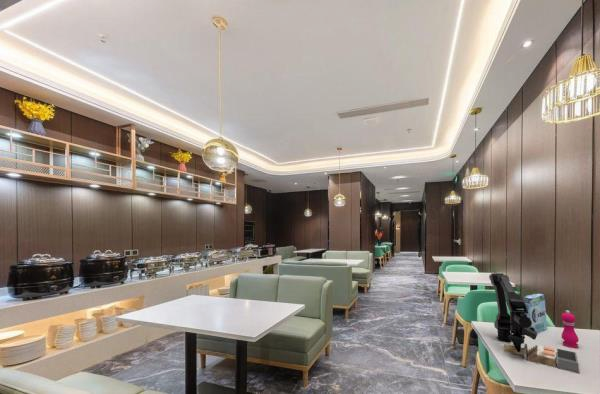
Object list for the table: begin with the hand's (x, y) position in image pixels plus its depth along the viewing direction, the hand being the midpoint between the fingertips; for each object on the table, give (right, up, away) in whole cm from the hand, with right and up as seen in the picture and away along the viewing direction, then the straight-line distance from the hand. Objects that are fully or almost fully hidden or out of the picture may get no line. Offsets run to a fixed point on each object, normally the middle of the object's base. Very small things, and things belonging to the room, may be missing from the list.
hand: (518, 351), depth 156 cm
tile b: (+12, +3, -6) cm, 13 cm away
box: (+15, 0, -13) cm, 19 cm away
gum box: (+35, -4, +31) cm, 47 cm away
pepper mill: (+37, -2, +9) cm, 38 cm away
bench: (+7, -1, -6) cm, 10 cm away
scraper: (-2, -1, +1) cm, 2 cm away
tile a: (+8, +4, -10) cm, 13 cm away
